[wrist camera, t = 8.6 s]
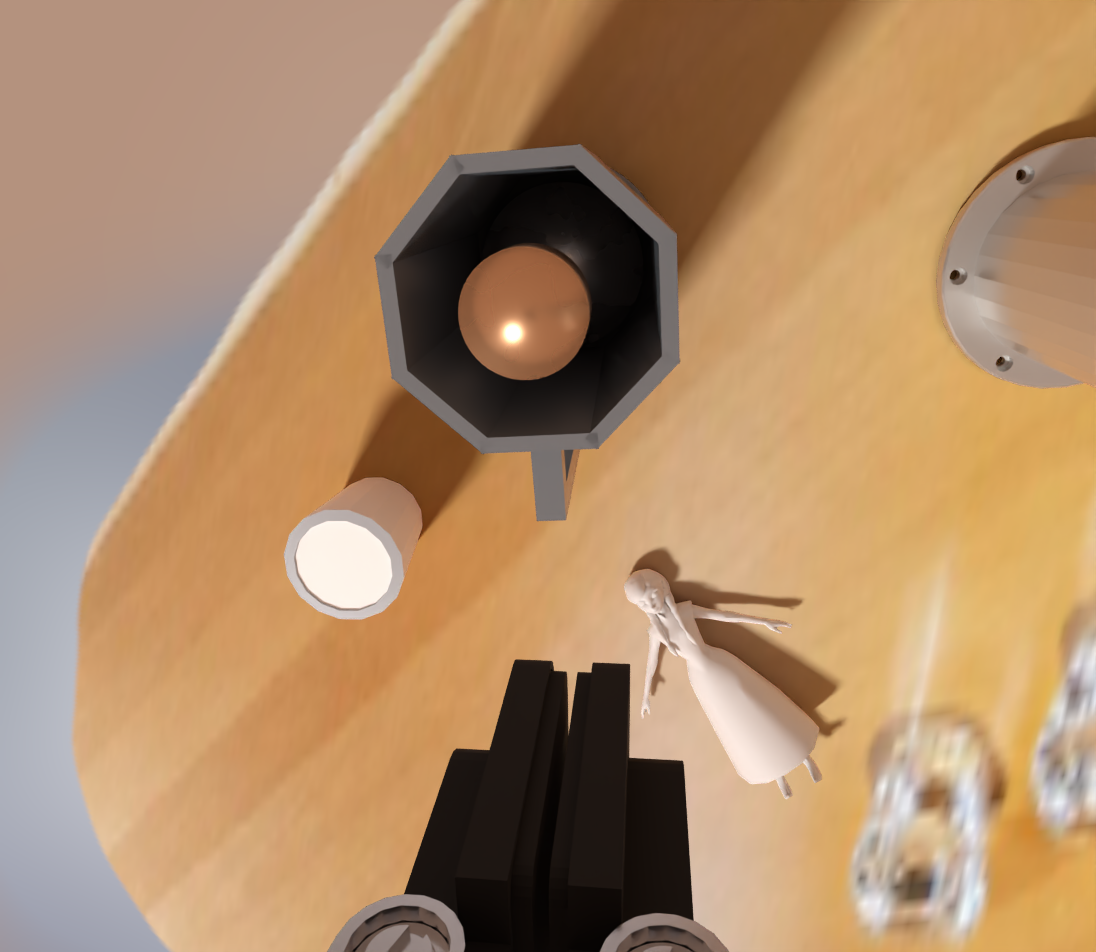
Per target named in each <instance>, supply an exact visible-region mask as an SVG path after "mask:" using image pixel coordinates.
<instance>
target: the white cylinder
mask: <svg viewBox="0 0 1096 952" xmlns="http://www.w3.org/2000/svg"><path fill="white" fill-rule="evenodd" d="M422 527H423V524H422V514H421V509H420V507H419V505H418V503H417V502H416V500H415V498H414V496H413V495H412V494H411V493H410V492H409V491H408V490H406V489H405V488H404V487H403V486H402V485H401V484H399V483H397V482H394V481H391V480H389V479H386V478H383V477H370V478H364V479H362V480H359V481H357V482H354V483H352V484H350V485H349V486H348V487H346V488H345V489H344V490H342V491H341V492H339V493H338V494H337V495H335V496H334V497H333V498H331V499H330V500H328V501H327V502H326V503H324V504H323V505H322V506H320V507H319V508H317V509H316V510H315V511H313V512H312V513H311V514H309V515H308V516H306V517H305V518H304V519H303V520H302V521H301V522H300V523H299V524H298V525H297V527H296V528H295V529H294V530H293V531H292V532H291V533H290V535H289V538H288V542H287V546H286V549H285V553H284V557H285V564H286V570H287V576H288V578H289V579H290V581H291V583H292V584H293V586H294V588H295V589H296V591H297V593H298V594H299V596H300V597H301V598H303V599H304V600H305V601H306V602H308V603H309V604H310V605H311V606H312V607H314V608H315V609H316V610H317V611H320V612H322V613H325V614H328V615H330V616H333V617H336V618H338V619H365V618H367V617H370V616H372V615H375V614H378V613H380V612H383V611H384V610H385V609H386V608H387V607H388V606H389V605H390V604H391V603H392V602H393V601H394V600H395V599H396V598H397V596H398V593H399V591H400V588H401V585H402V582H403V580H404V577H405V574H406V572H407V569H408V566H409V563H410V561H411V558H412V555H413V552H414V550H415V547H416V544H417V541H418V539H419V536H420V533H421V530H422Z"/></svg>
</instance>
